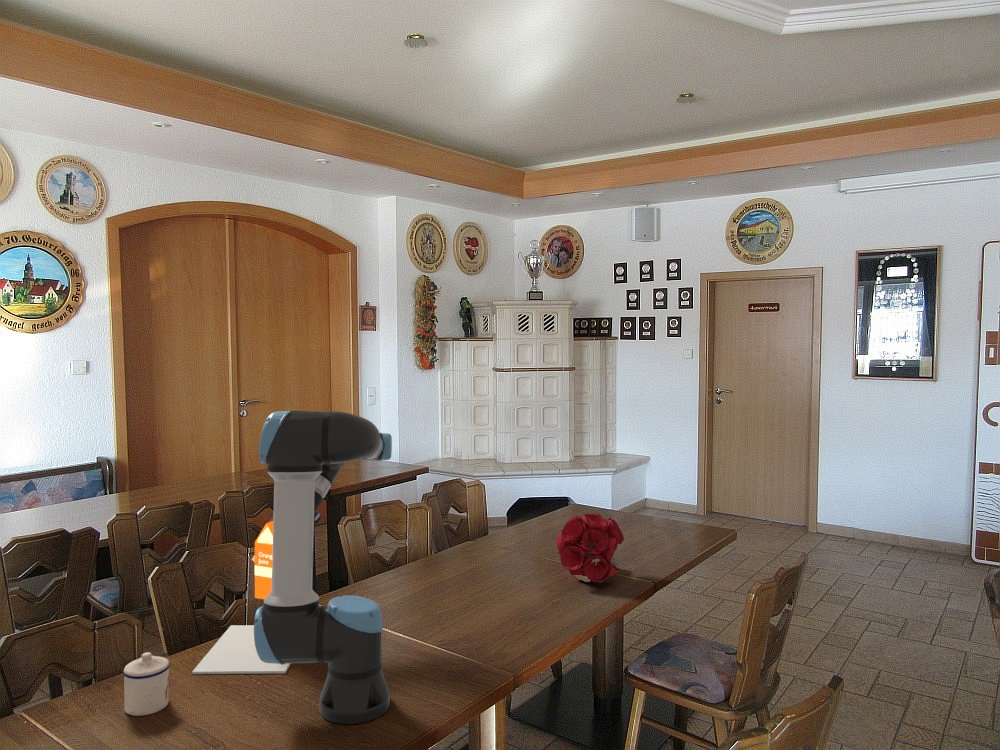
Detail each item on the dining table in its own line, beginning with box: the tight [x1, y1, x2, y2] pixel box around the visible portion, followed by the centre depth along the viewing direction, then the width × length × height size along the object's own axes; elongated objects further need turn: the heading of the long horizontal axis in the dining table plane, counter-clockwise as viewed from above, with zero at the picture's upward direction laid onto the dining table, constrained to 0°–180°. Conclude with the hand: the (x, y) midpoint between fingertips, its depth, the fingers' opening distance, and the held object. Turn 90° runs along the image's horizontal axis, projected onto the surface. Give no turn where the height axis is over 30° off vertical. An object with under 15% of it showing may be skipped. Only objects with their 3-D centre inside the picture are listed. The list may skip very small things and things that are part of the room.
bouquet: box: [555, 513, 625, 584], centre depth 244 cm, size 22×24×30 cm
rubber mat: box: [191, 624, 292, 675], centre depth 185 cm, size 28×22×1 cm
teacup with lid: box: [122, 651, 171, 717], centre depth 156 cm, size 12×9×12 cm
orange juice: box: [254, 521, 273, 600], centre depth 188 cm, size 8×9×20 cm
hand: (267, 565), depth 185 cm, fingers closed on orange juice, 8 cm apart
